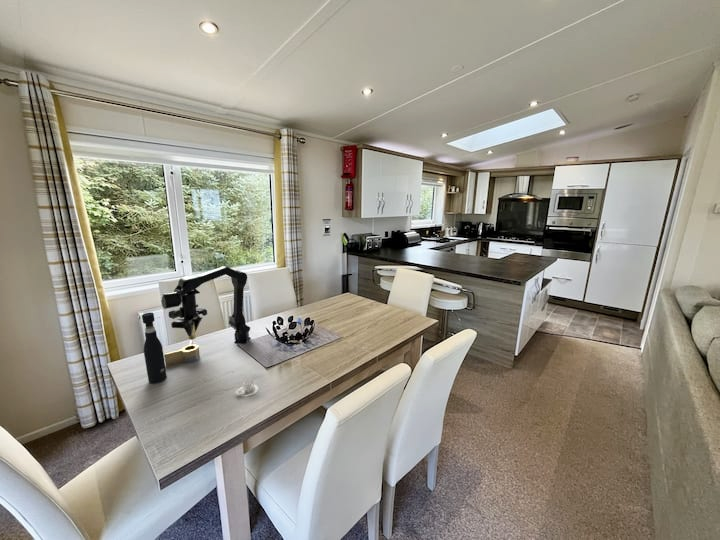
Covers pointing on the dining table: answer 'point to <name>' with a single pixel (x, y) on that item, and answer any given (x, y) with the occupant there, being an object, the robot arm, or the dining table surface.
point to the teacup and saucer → (246, 388)
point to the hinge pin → (193, 333)
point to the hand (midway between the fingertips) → (191, 334)
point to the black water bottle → (153, 352)
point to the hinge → (183, 355)
